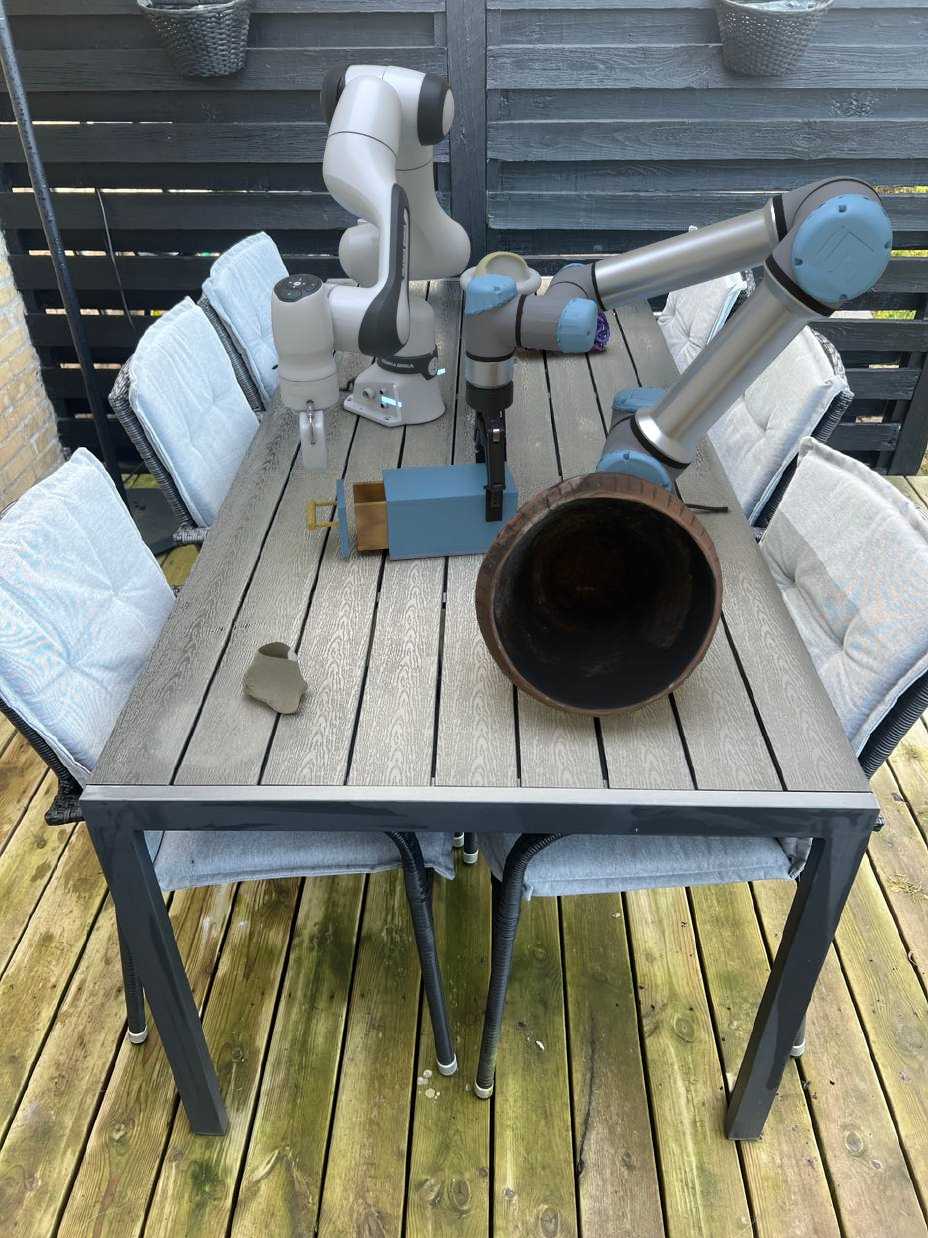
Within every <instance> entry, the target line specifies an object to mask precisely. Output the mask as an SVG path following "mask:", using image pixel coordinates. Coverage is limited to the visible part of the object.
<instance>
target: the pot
mask: <svg viewBox="0 0 928 1238" xmlns="http://www.w3.org/2000/svg"><path fill="white" fill-rule="evenodd" d="M684 503H685V502H683V501H682V500H681V499H680V498H679V496H677V497H676V496H675V495H674V494H672V493H671V492H669V491H668V490H666V489H665V488H663V487H661V486H659V485H657V484H655V483H654V482H651V481H649V480H646V479H644V478H641V477H639V476H636V475H633V474H627V473H621V472H605V471H600V472H595V471H594V472H589V473H584V474H579V475H575V476H573V477H568V478H566V479H563V480H561V481H559V482H556V484H553V485H552V486H549V487H548V488H546V489H544V490H542V491H540V492H538V493H537V494H536V495H534V496H533V497H531V498H530V499H528V500H527V501H526V502H525V503H523V505H521V506H520V507H518V509H517V512H516V513H515V514H514V515H513V516H512V517H511V519H510V520H509V521H508V522H507V523H506V524H505V525H504V526H503V527H502V529H501V530H500V532H499V533H498V534H497V535H496V536H495V538H494V540H493V541H492V543H491V545H490V547H489V549H488V551H487V553H485V554H484V557H483V559H482V562H481V564H480V567H479V569H478V574H477V578H476V582H475V588H474V606H475V616H476V617H475V618H476V621H477V625H478V629H479V631H480V634H481V637H482V639H483V641H484V644H485V646H486V648H487V650H488V653H489V654H490V656H491V658H492V661H494V663H495V665H497V667H498V669H499V670H500V672H501V673H502V675H503V676H505V677H506V678H507V679H508V680H509V681H510V682H511V683H512V684H513V685H515V686H516V687H517V689H519V690H520V691H522V692H523V693H524V694H526V695H527V696H528V697H530V698H532V699H533V700H535V701H536V702H538V703H540V704H542V705H545V706H546V707H548V708H551V709H553V710H555V711H559V712H561V713H566V714H567V713H568V714H571V715H577V716H582V717H589V718H606V717H615V716H616V717H617V716H621V715H623V714H628V713H630V712H635V711H639V710H642V709H644V708H646V707H648V706H650V705H652V704H654V703H657V702H658V701H660V700H662V699H664V698H666V697H667V696H668V695H669V694H671V693H673V692H674V691H676V690H677V689H679V687H681V686H682V685H683V684H684V683H685V681H686V680H688V679H689V678H690V677H691V675H692V674H693V672H694V671H695V669H697V667H698V666H699V665H700V664H702V662H703V661H704V659H705V657H706V655H707V653H708V651H709V649H710V647H711V645H712V643H713V640H714V636H715V634H716V631H717V628H718V626H719V623H720V619H721V615H722V610H723V601H724V600H723V599H724V598H723V597H724V584H723V583H724V582H723V571H722V567H721V562H720V559H719V556H718V553H717V549H716V546H715V543H714V541H713V539H712V538H711V536H710V534H709V533H708V531H707V529H706V527H705V526H704V525H703V523H702V522H701V520H700V519H699V518H698V516H697V515H696V514H695V513H694V512H693V511H692V510H691V508H688V507H687V506H686V505H685V504H684Z"/></svg>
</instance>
